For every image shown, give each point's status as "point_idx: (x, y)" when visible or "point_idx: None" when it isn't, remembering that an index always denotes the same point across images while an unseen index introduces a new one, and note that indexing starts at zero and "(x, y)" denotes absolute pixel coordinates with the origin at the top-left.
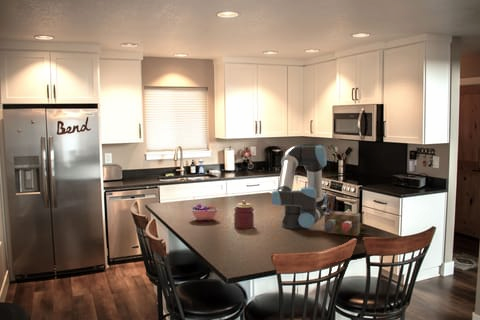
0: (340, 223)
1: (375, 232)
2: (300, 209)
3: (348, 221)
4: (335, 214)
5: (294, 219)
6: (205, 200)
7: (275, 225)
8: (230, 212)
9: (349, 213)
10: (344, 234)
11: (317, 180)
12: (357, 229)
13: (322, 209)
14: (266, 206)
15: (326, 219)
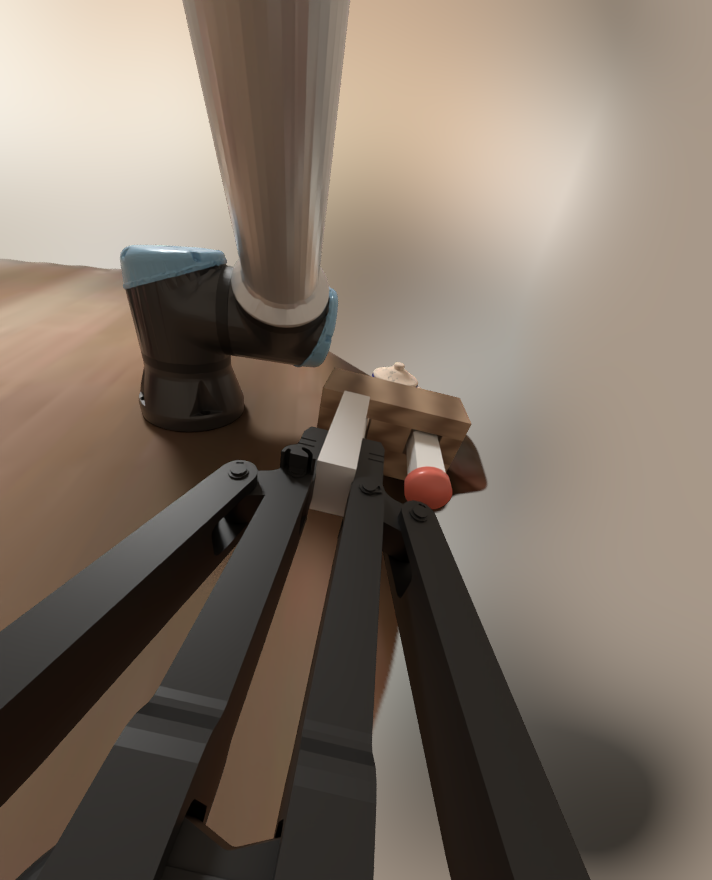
0: (384, 439)
1: (471, 451)
2: (212, 349)
3: (426, 443)
4: (371, 401)
5: (184, 393)
6: (8, 263)
7: (118, 398)
8: (12, 309)
9: (423, 395)
10: (389, 476)
11: (296, 109)
12: (447, 469)
13: (370, 756)
14: None
15: (327, 415)
